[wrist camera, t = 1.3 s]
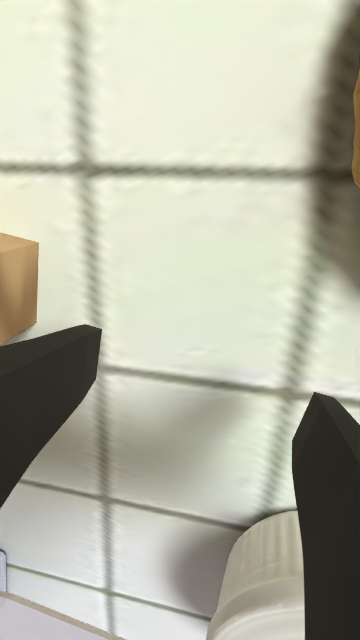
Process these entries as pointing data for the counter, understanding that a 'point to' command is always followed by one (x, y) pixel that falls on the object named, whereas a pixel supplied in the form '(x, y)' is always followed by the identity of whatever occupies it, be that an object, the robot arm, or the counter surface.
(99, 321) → the counter surface
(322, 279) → the counter surface
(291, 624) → the ramekin
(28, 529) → the counter surface
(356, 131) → the pastry
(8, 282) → the block
